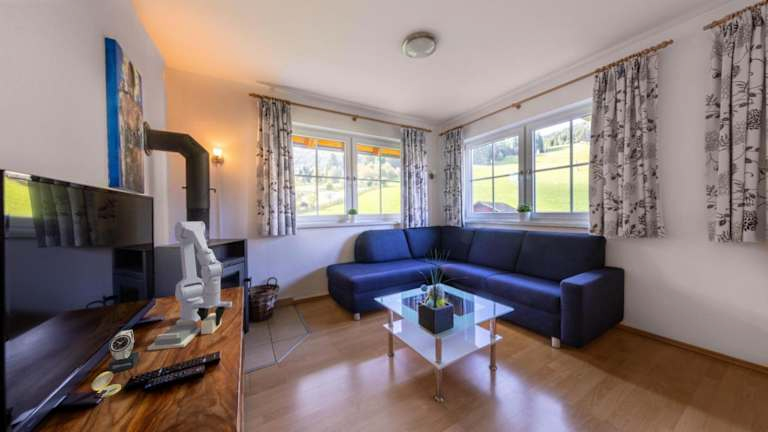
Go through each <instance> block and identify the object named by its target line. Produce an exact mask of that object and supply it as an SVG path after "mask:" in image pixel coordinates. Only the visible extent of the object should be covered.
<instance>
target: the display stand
mask: <svg viewBox="0 0 768 432" xmlns="http://www.w3.org/2000/svg"><path fill="white" fill-rule="evenodd" d="M199 333H201V326H200V327H198V324H197V323H195V322H194V320H185V321H178V320H176V321H175V324H173V326H171V327H169V329H167V330H166V331H164V332H163V333H161V334H158V335H157V338H155V339H154V342H152V343H151V344H150V345H149V346H147V351H152V350H153V351H154V350H164V349H165V350H166V349H174V348H175V349H178V348H184V347H185V346H187V345H188V344H189V343H190V342H191V341H192V340H193V339H194V338H195V337H196V336H198V334H199Z"/></svg>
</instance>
